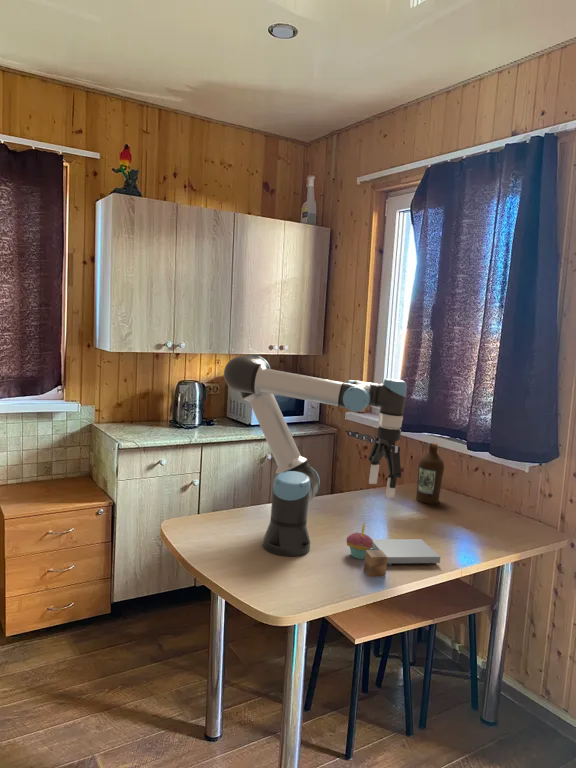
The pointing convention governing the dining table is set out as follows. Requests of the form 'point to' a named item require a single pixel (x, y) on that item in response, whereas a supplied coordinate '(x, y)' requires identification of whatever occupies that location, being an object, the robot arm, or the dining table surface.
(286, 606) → the dining table surface
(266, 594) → the dining table surface
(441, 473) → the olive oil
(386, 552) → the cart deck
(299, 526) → the robot arm
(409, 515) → the dining table surface
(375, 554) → the walnut block
